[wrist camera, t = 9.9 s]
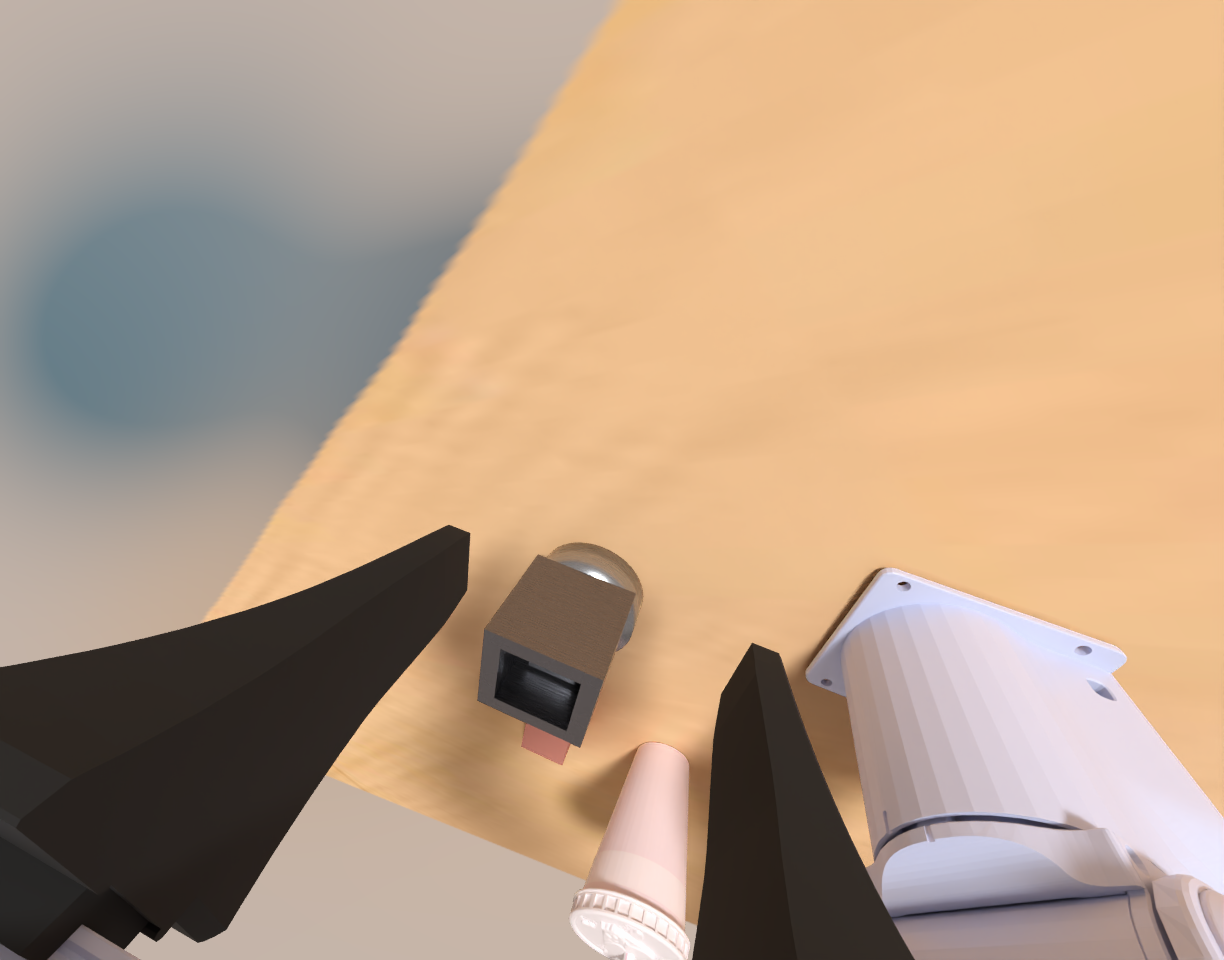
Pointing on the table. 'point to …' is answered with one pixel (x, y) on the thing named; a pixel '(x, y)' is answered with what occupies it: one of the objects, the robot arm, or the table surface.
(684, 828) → the smoothie
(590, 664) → the hollow square tube
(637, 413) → the table surface
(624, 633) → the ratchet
